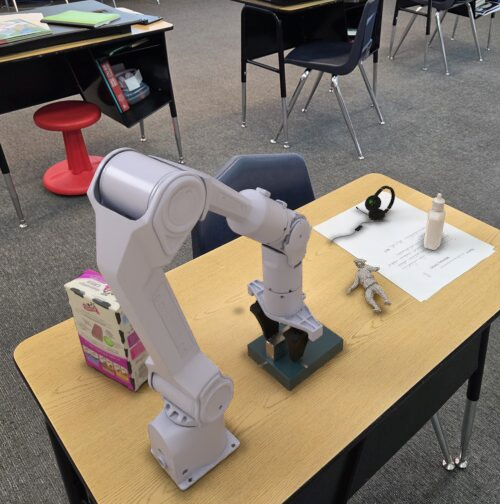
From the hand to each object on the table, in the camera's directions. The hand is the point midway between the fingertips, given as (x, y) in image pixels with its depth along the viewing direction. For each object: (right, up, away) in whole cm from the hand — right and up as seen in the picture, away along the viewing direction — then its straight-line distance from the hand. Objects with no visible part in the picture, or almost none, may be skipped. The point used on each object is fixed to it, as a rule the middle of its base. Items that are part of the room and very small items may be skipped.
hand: (284, 347), depth 86 cm
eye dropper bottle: (+30, +14, +29) cm, 45 cm away
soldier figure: (+15, +6, +16) cm, 23 cm away
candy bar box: (-26, -3, 0) cm, 26 cm away
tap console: (+2, -2, +3) cm, 4 cm away
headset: (+15, +19, +36) cm, 44 cm away
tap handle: (0, 0, 0) cm, 0 cm away
